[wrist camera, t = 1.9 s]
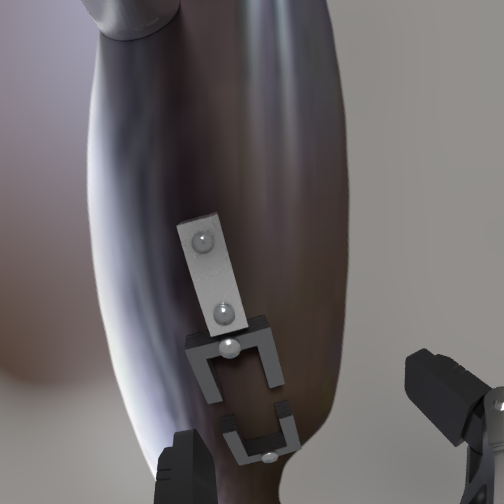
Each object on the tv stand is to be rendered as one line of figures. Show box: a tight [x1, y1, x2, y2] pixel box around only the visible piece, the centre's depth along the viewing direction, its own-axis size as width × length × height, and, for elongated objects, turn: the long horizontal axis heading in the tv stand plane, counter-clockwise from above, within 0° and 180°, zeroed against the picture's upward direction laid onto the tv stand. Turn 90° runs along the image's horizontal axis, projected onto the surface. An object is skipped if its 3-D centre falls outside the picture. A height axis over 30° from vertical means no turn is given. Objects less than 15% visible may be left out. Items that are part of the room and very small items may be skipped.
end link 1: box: [185, 315, 285, 404], centre depth 28 cm, size 7×8×4 cm
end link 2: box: [221, 400, 301, 466], centre depth 31 cm, size 7×8×4 cm
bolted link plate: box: [177, 212, 248, 337], centre depth 26 cm, size 10×3×4 cm, turn 14°
